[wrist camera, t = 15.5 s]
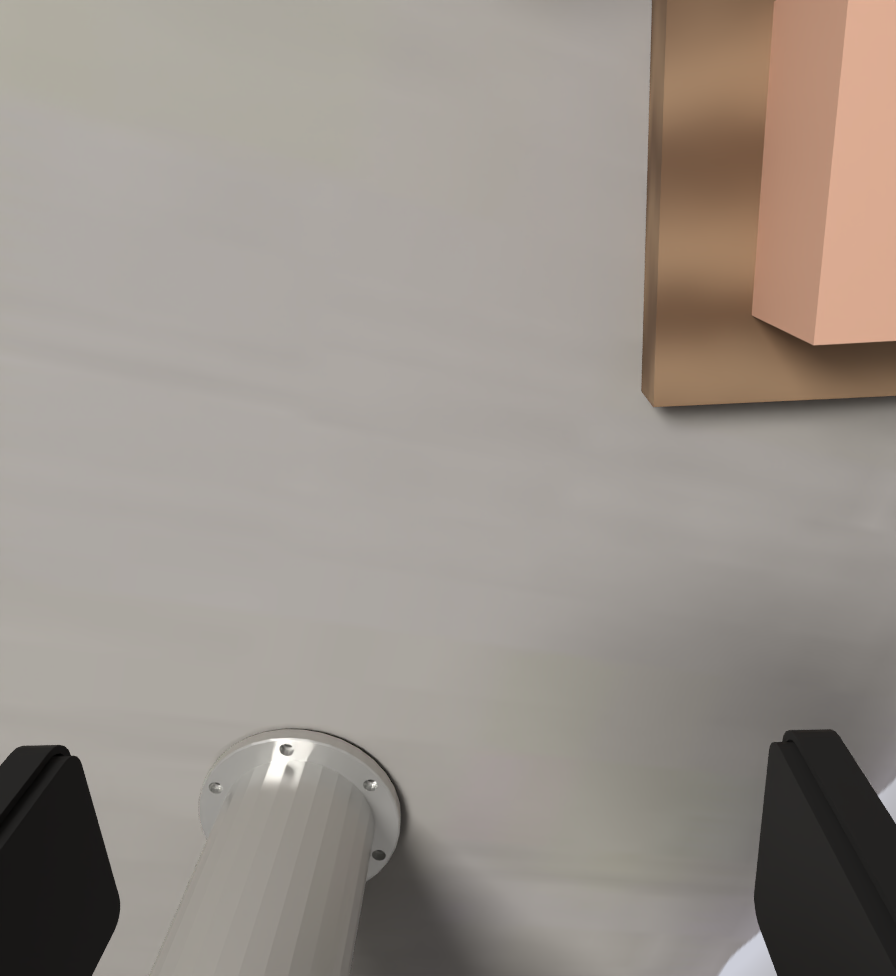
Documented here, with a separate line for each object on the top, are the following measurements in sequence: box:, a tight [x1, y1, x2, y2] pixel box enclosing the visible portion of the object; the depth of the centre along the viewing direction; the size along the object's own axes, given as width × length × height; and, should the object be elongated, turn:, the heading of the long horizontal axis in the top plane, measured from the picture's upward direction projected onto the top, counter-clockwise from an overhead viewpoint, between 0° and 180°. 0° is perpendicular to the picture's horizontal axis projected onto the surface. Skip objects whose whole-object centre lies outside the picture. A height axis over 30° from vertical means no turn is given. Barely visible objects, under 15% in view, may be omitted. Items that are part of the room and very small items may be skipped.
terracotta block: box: [752, 0, 896, 345], centre depth 29 cm, size 4×12×7 cm, turn 4°
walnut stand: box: [642, 0, 896, 407], centre depth 34 cm, size 20×13×3 cm, turn 3°
